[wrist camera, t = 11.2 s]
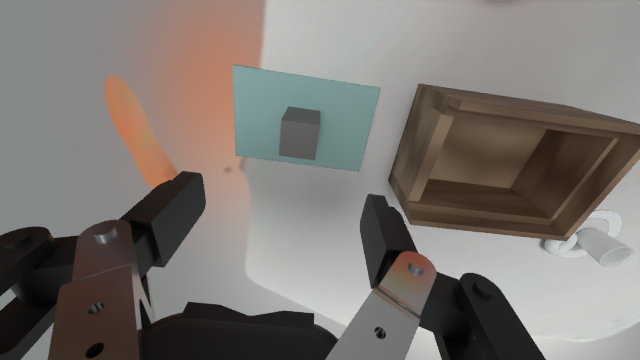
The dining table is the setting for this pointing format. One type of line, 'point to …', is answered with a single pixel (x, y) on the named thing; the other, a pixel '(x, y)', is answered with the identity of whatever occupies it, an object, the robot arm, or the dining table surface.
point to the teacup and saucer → (595, 242)
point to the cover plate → (308, 93)
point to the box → (507, 163)
